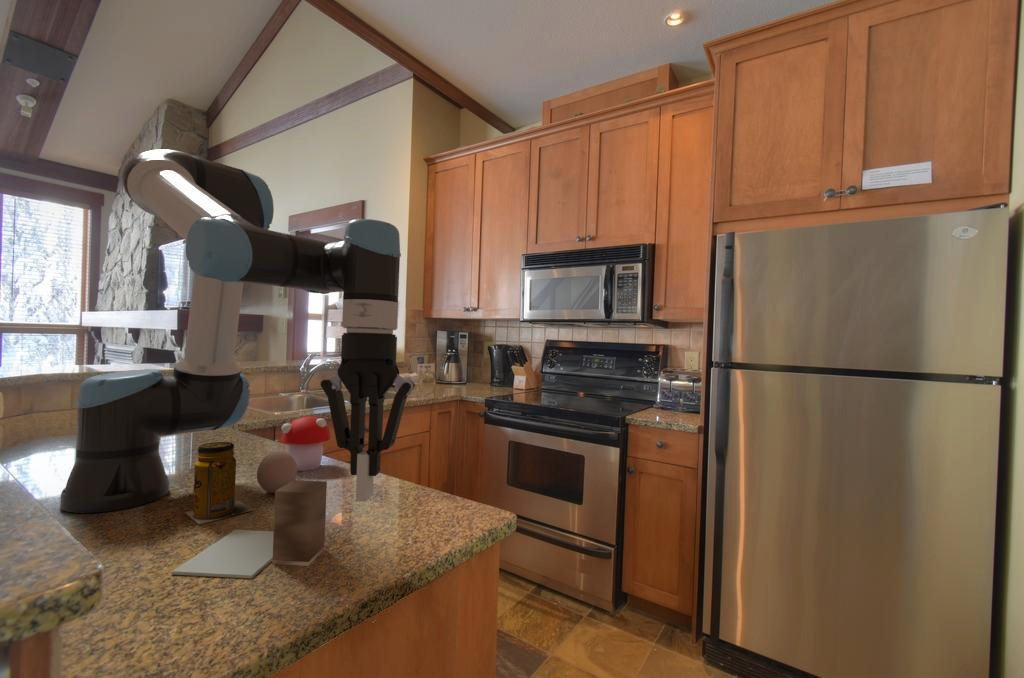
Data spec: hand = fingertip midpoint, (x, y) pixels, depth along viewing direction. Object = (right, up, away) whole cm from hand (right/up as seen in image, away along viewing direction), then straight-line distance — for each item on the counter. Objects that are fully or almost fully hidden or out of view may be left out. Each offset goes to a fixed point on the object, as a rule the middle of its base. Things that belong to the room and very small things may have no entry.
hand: (364, 497), depth 65 cm
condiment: (-30, -8, +15) cm, 34 cm away
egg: (-26, -8, +26) cm, 37 cm away
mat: (-18, -8, +1) cm, 19 cm away
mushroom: (-28, -8, +44) cm, 53 cm away
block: (-9, -8, 0) cm, 13 cm away
